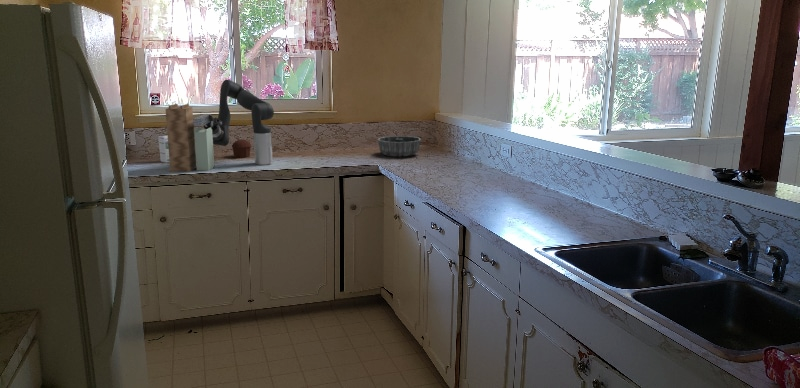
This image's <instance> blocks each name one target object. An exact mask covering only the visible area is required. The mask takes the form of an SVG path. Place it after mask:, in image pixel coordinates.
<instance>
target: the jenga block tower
mask: <svg viewBox="0 0 800 388" xmlns="http://www.w3.org/2000/svg"><path fill="white" fill-rule="evenodd" d="M193 113H194V111H193V106H190V104H189V103H186V104H183V105H180V106H179V104H178V103H175V104H171V105H168V107H167V108H165V119H166V120H165V121H166V133H167V134H166V135H168V148H169V161H170V162H169V171H170V172H192V171H193V170H194V169H196V168H197V163H196V149H195V134H194V130H195V126H194V121H193V118H194V114H193Z"/></svg>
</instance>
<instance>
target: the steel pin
mask: <svg viewBox="0 0 800 388" xmlns="http://www.w3.org/2000/svg"><path fill="white" fill-rule="evenodd" d="M199 115H200V116H199ZM199 115H198V116H196V117H193V125H194V127H204V125H206V124H208V123H210V122H211V121H210V120H209V115H211V116H212V114H211V113H203V114H202V113H201V114H199Z"/></svg>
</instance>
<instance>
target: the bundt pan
mask: <svg viewBox="0 0 800 388" xmlns="http://www.w3.org/2000/svg"><path fill="white" fill-rule="evenodd" d="M376 140H377V142H378V147H379V151H380V153H382V154H383V155H384V156H386V157H398V158H401V157H403V158H404V157H411V156H415V155H416V154H417V153H418V152H419V150H420V145H421V141H422V138H420V137H418V136H417V137H416V136H407V135H393V136H392V135H391V136H384V137H378V138H377V139H376Z"/></svg>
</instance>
